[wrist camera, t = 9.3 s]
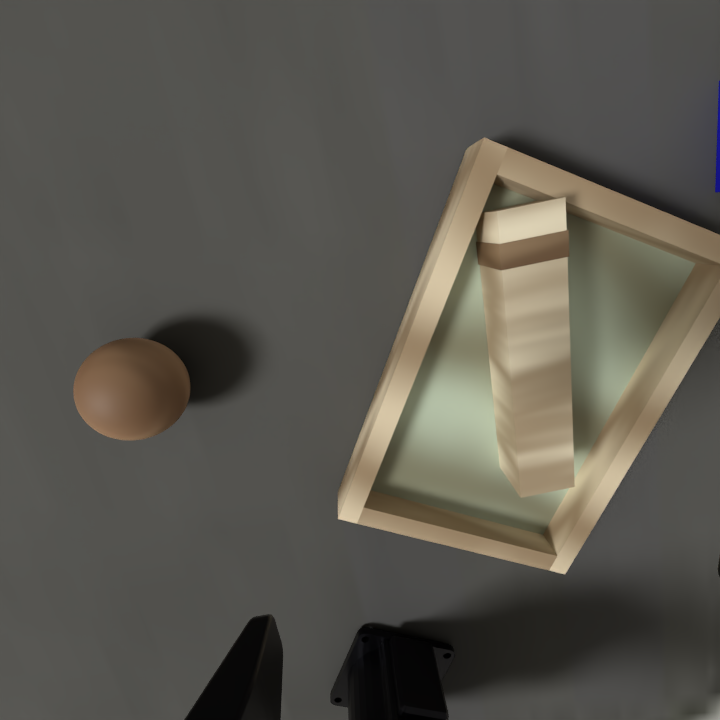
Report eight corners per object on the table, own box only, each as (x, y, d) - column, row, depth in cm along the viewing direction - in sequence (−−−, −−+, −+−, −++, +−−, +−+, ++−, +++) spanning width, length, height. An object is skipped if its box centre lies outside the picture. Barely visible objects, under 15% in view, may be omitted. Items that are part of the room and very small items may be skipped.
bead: (193, 422, 21) (156, 472, 16) (102, 399, 20) (41, 444, 16) (212, 343, 19) (178, 374, 15) (117, 315, 19) (54, 339, 15)
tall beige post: (576, 487, 19) (567, 196, 15) (520, 498, 19) (496, 211, 15) (548, 456, 22) (533, 201, 18) (498, 466, 22) (473, 213, 18)
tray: (545, 544, 24) (565, 574, 22) (337, 492, 22) (337, 518, 20) (714, 248, 19) (759, 251, 17) (466, 148, 17) (484, 137, 15)
